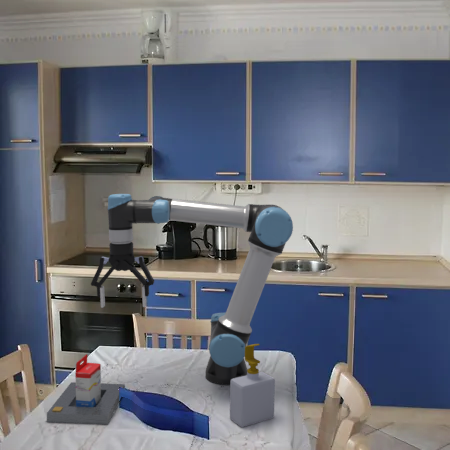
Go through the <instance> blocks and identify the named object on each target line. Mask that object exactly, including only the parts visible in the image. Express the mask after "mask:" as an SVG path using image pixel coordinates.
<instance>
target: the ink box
mask: <svg viewBox="0 0 450 450" xmlns="http://www.w3.org/2000/svg"><path fill="white" fill-rule="evenodd" d="M101 367H102V364H101V363H96V362H88V354H87V353H86V354H85V355H83V356H82V358H80V359H78V361H76V363H75V375H74V376H75V382H76V407H94V406H95V405H96V404H97V403H98V401H99V400H100V399H101V383H102V380H101V378H102V376H101V375H102V373H101V372H102V371H101V370H102V369H101Z"/></svg>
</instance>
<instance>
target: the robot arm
mask: <svg viewBox="0 0 450 450" xmlns="http://www.w3.org/2000/svg"><path fill="white" fill-rule="evenodd" d="M107 215H108V216H107V218H108V220H107V221H108V240H109V242H110V243H109V244H108V245H109V257H106V256H104V255H103V256H101V257H100V258H99V265H98V268H97V269H96V271H95V274H94V276H93V278H92V280H91V282H90V285H91V287H96V296H97V297H98V298H100V308H104V307H106V298H105V296H106V294H105V286H104V285H103V284H104V283H105V282H106V280H108V278H109V277H110V276H111V274H112V273H113V272H114V270H115V271H116V272H120V271H124V272H127V271H130V272H131V273H132V274H133V275H134V276H135V277H136V279H137V280H139V282H140V283H141V284H142V285H143V286H142V287H141V290H142V291H141V292H142V293H141V294H142V295H141V297H142V308H145V307H146V306H147V297H149V295H150V286H153V285H154V284H155V279H154V277H153V275H152V274H151V272H150V270H149V268H148V267H147V265H146V263H145V259H144V258H145V257H144V256H143V255H140V256H136V257H135V256H134V255H135V254H134V243H133V242H132V241H133V240H134V234H133V229H134V228H133V224H157V225H159V224H167V223H169V221H174V222H175V221H176V222H183V223H192V224H201V225H208V226H209V225H210V226H218V227H226V228H237V229H243V231H244V232H246V233H250V235H249V238H248V240H247V242H248V246H249V249H248V253H247V255H246V258H245V261H244V263H243V266H242V268H241V270H240V271H241V272H240V273H239V277H238V280H237V281H236V282H237V283H236V285H235V288H234V289H233V292H232V296H231V297H230V298H231V299H230V300H229V303H228V307H227V309H226V311H225V312H216V313H212V315H211V316H210V317H211V318H210V337H209V346H208V350H209V351H208V352H209V355H210V356H209V359H208V361H207V365H206V368H205V379H206V380H207V381H209V382H211V383H213V384H217V385H226V386H230V381H231V379H233V378H238V377H242V376H246V375H247V369H248V367H247V364H246V361H245V346H248V342H249V339H250V338H251V335H252V332H253V329H252V327H251V325H250V324H251V322H252V319H253V316H254V313H255V311H256V309H257V305H258V303H259V300H260V299H261V295H262V293H263V290H264V287H265V285H266V282H267V280H268V277H269V275H270V271H271V269H272V266H273V264H274V261H275V260H276V257H278V256H281V255H282V254H283V251H284V249H285V246H286V244H287V242H288V241H289V240H290V238H291V236H292V235H293V231H294V225H293V224H294V223H293V221H292V217H291V215H290V214H289V213H288V212H287V211H286V210H285V209H284V208H282V207H281V206H278V205H276V204H254V203H253V204H252V203H251V204H250V203H247V204H246V205H245V206H243V205H234V204H224V203H216V202H215V203H214V202H206V201H199V200H197V201H196V200H188V199H178V198H169V197H163V196H160V195H155V196H151V197H150V198H149V199H139V200H138V199H137V200H136V199H133V198H132V195H131V194H130V193H116V194H115V193H114V194H113V193H112V194H110V195H108V197H107ZM135 262H136V263H137V264H139V266H140V269H141V271H142V272H143V274H144V275H142V273H141V272H140V271H139V270H138V269H137V268H136V266H135V265H134V263H135ZM107 263H109V264H110V265H111V267H110V268H109V269H108V270H107V272H106V273H105V274H104V275H103V276H102V277H101V279H100V280H99V278H100V276H101V273H102V271H103V269H104V267H105V265H106V264H107ZM145 277H146V278H145ZM98 280H99V281H98Z"/></svg>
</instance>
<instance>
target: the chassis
mask: <svg viewBox="0 0 450 450" xmlns="http://www.w3.org/2000/svg"><path fill="white" fill-rule="evenodd" d="M119 387H122V388H125V389H126V384H125V383H102V382H101V399H100V400H99V401H98V403H97V404H96V405H95V406H94V407H76V381H75V382H70V383H69V385H68V386H67V387H66V388H65V389H64V391H63V392H62V393H61V395H60V396H59V397H58V398H57V400H56V401H55V402H54V403H53V405H52V406H51V407H50V408H49V410H48V411H47V412H46V423H56V424H57V423H59V424H61V423H63V424H87V425H88V424H89V425H109V423H110V421H111V419H112V417H113V416H114V413H115V411H116V410H117V408H118V406H119V404H120V402H119V390H118V389H119Z"/></svg>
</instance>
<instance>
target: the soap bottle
mask: <svg viewBox="0 0 450 450" xmlns="http://www.w3.org/2000/svg"><path fill="white" fill-rule="evenodd" d="M257 346H261V345H260V343H254V344H249V345H248V344H247V345H246V346H245V357H244V360H245V363H246V362H247V363H248V366H250V367H249V368H247V375H246V376H242V377H238V378H233V379H231V381H230V385H229V387H230V392H229V395H230V396H229V418H230V420H231V421H232V422H234V423H235V424H236V425H238V426H239V427H240V428H244V426H245V427H247V426H251V425H254V424H257V423H260V422H264V421H267V420H271V419H273V418H274V417H275V389H276V388H275V386H276V380H275V379H276V378H275V377H273V376H271V375H270V374H268V373H266V372H264V371H260V370H259V369H258V368H257V367H258V365H259V364H260V363H261V361H260V360H258V359H257V358H255V347H257Z"/></svg>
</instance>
